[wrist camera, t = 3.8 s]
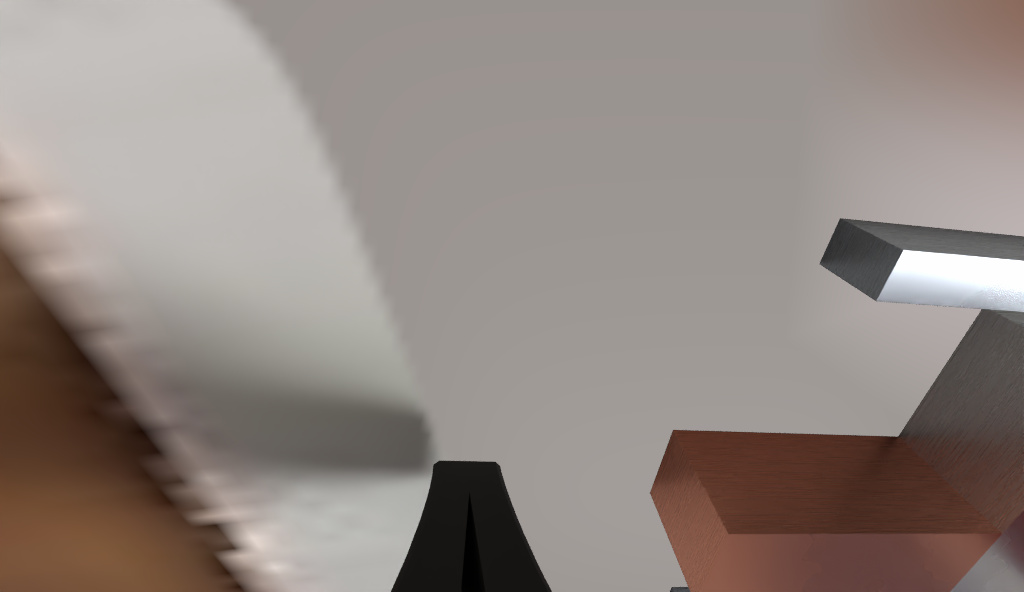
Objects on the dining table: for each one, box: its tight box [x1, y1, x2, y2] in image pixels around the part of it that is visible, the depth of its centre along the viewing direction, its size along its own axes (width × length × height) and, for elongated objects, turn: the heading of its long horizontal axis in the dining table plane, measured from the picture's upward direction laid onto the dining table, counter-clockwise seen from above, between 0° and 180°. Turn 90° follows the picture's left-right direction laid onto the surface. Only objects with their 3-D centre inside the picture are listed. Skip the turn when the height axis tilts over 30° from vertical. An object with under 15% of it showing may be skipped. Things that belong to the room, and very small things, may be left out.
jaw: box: [650, 309, 1024, 592], centre depth 12 cm, size 9×10×3 cm
